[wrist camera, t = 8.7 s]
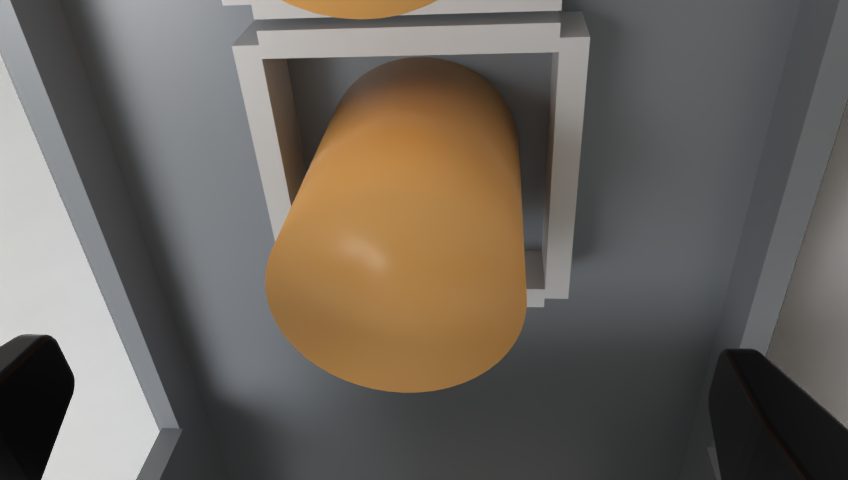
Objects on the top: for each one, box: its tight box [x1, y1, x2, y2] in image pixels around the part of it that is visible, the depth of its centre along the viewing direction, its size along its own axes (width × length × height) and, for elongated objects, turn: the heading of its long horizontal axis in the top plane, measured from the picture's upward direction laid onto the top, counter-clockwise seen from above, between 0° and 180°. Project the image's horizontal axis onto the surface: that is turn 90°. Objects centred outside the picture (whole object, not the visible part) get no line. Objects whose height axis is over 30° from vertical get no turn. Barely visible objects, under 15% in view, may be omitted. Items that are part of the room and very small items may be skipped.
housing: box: [0, 0, 848, 480], centre depth 15 cm, size 15×26×6 cm, turn 3°
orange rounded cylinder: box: [265, 57, 527, 393], centre depth 13 cm, size 4×4×5 cm
